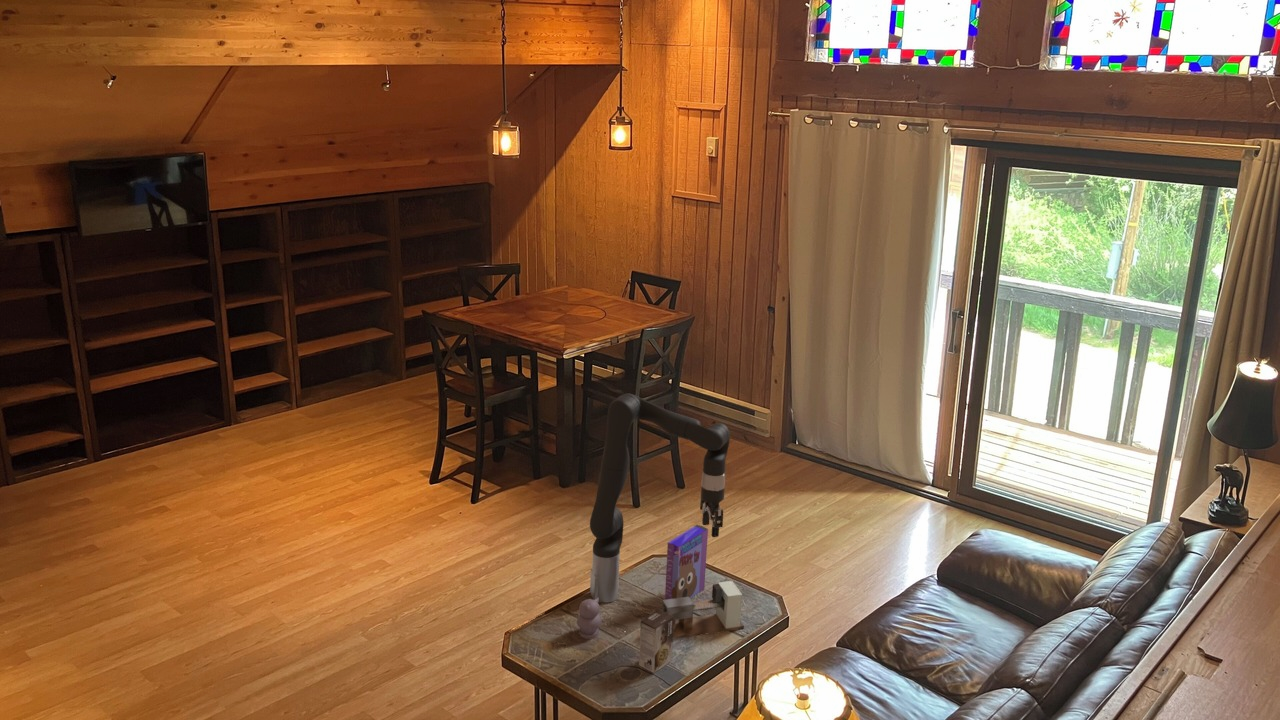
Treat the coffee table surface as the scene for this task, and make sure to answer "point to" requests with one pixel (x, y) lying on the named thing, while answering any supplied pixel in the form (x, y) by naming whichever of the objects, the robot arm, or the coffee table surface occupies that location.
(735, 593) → the socket block
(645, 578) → the coffee table surface
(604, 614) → the coffee table surface
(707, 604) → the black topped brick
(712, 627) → the board
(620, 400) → the robot arm
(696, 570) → the cereal box
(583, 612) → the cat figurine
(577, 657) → the coffee table surface
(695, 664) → the coffee table surface
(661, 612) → the coffee box
